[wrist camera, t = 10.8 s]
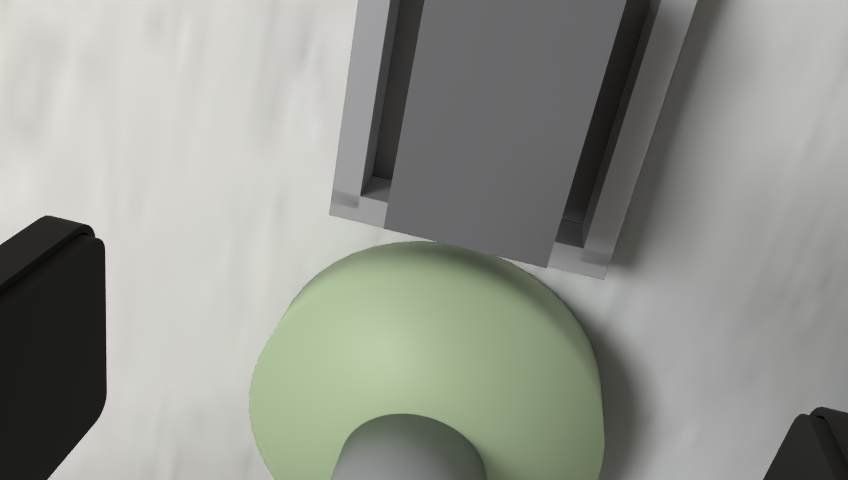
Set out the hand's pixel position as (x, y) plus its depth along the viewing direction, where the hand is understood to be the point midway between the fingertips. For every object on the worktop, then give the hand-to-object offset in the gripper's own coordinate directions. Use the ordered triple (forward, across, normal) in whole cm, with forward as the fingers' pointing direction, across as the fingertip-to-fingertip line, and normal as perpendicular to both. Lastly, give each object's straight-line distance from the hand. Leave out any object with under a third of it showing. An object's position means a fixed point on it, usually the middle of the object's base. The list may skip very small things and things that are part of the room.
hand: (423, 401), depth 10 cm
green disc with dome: (+18, 0, +8) cm, 20 cm away
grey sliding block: (+18, 0, -1) cm, 18 cm away
